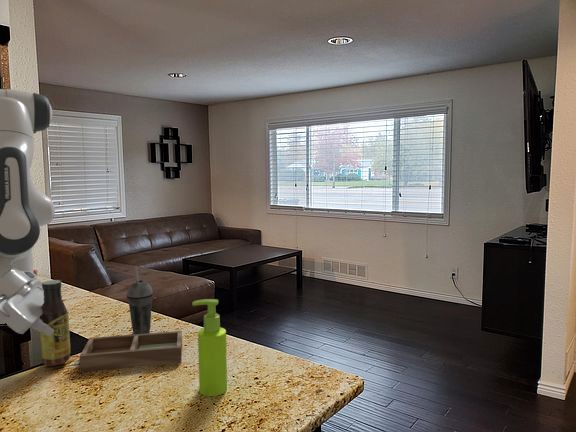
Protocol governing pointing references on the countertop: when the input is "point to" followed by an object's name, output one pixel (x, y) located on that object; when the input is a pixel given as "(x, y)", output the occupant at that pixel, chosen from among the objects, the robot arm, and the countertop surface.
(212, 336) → the soap dispenser
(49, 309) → the sauce bottle
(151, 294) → the beverage cup
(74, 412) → the countertop surface
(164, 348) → the caddy
